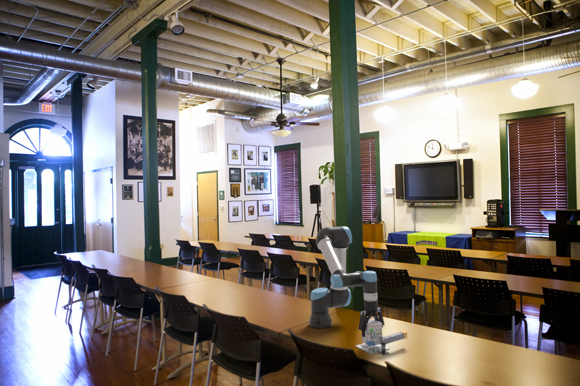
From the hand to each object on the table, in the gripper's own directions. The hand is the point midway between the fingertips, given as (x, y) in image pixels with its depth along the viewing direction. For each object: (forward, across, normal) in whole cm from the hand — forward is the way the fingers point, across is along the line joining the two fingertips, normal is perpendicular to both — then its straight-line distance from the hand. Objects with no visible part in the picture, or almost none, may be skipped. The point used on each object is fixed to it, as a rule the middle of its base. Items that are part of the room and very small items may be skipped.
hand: (372, 340), depth 213 cm
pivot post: (+4, 0, -9) cm, 10 cm away
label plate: (+4, 0, 0) cm, 4 cm away
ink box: (+1, 0, 0) cm, 1 cm away
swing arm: (-1, +8, -9) cm, 12 cm away
